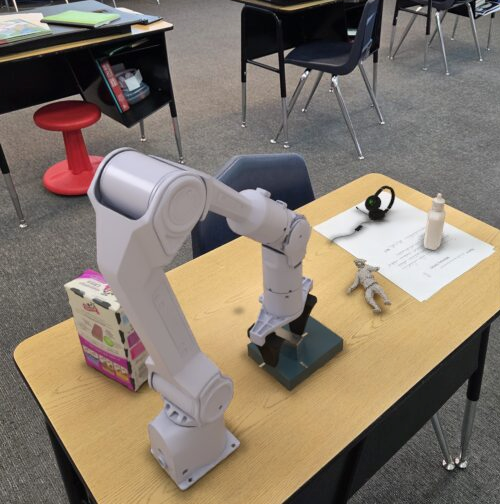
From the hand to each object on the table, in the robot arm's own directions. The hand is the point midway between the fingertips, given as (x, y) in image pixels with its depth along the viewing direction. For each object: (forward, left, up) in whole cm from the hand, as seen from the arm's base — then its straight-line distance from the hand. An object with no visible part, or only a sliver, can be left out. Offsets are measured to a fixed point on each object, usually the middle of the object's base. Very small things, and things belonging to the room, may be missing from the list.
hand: (284, 347), depth 86 cm
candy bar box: (-19, +17, -3) cm, 26 cm away
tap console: (+3, 0, -3) cm, 4 cm away
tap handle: (0, 0, 0) cm, 0 cm away
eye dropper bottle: (+45, +2, -3) cm, 45 cm away
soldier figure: (+23, +1, -3) cm, 23 cm away
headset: (+39, +18, -3) cm, 44 cm away
